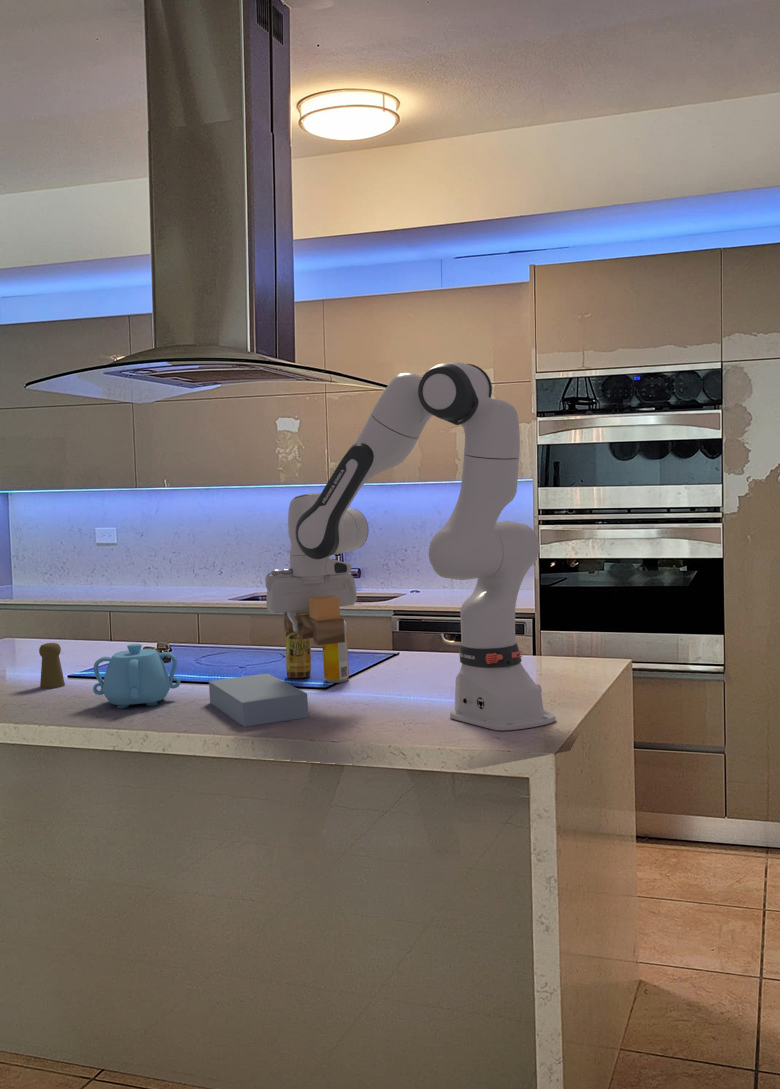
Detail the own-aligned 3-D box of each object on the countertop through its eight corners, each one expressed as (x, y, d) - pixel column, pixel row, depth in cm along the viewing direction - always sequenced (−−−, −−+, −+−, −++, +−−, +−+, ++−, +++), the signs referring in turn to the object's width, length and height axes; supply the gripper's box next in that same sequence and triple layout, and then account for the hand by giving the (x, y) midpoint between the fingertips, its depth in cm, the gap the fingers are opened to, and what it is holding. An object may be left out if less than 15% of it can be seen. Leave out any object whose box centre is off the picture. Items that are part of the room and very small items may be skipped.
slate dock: (308, 717, 212) (307, 693, 212) (243, 726, 207) (242, 702, 206) (269, 694, 236) (267, 673, 236) (210, 702, 230) (208, 681, 230)
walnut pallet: (345, 642, 216) (343, 618, 215) (318, 645, 213) (317, 621, 213) (309, 628, 236) (308, 607, 235) (284, 631, 233) (283, 609, 233)
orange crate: (340, 618, 216) (339, 597, 216) (317, 620, 214) (317, 599, 214) (331, 615, 221) (330, 595, 220) (309, 618, 219) (308, 597, 218)
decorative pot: (188, 699, 235) (185, 641, 234) (130, 714, 223) (126, 652, 222) (145, 692, 245) (142, 636, 245) (87, 705, 233) (84, 647, 232)
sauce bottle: (289, 680, 251) (284, 600, 250) (284, 676, 257) (280, 598, 256) (315, 677, 253) (311, 598, 251) (309, 673, 259) (305, 596, 257)
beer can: (336, 677, 253) (333, 617, 252) (354, 679, 249) (351, 618, 248) (319, 681, 248) (316, 620, 247) (337, 684, 244) (334, 622, 243)
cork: (57, 688, 254) (54, 645, 253) (35, 688, 255) (32, 645, 255) (69, 683, 260) (66, 641, 259) (48, 683, 261) (44, 641, 260)
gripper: (269, 572, 216) (272, 636, 217) (358, 564, 225) (360, 626, 226) (260, 569, 222) (263, 632, 223) (347, 562, 230) (349, 622, 231)
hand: (313, 629), depth 224 cm, fingers closed on walnut pallet, 6 cm apart
